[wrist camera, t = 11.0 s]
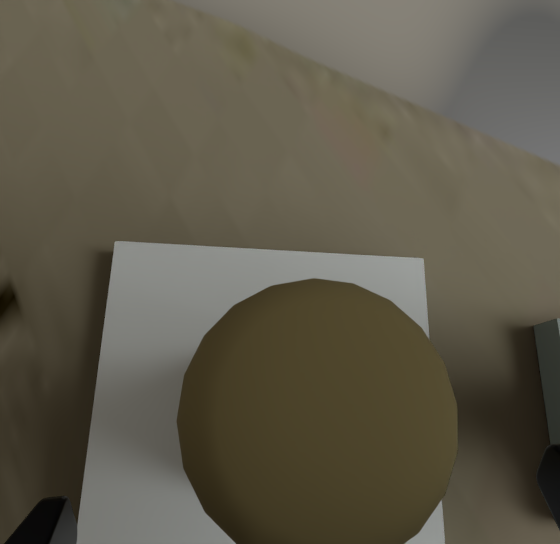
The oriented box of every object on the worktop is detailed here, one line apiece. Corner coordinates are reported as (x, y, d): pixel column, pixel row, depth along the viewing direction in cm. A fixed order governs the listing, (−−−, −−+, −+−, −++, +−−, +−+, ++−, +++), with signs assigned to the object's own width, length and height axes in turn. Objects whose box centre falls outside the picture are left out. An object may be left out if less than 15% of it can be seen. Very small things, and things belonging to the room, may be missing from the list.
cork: (169, 368, 18) (91, 297, 8) (315, 315, 19) (420, 192, 9) (221, 533, 17) (213, 728, 6) (375, 464, 18) (587, 529, 7)
